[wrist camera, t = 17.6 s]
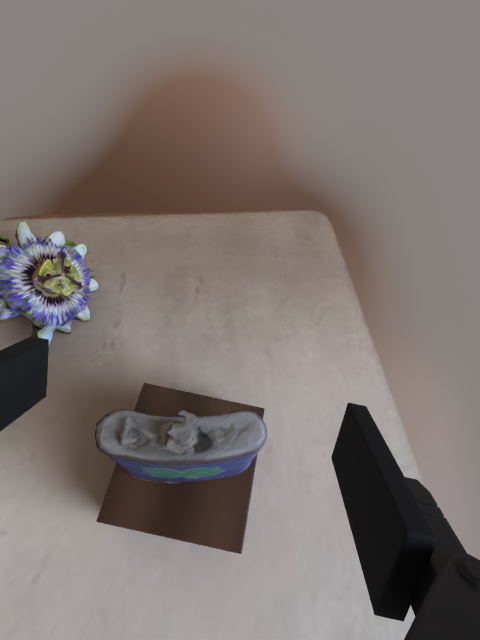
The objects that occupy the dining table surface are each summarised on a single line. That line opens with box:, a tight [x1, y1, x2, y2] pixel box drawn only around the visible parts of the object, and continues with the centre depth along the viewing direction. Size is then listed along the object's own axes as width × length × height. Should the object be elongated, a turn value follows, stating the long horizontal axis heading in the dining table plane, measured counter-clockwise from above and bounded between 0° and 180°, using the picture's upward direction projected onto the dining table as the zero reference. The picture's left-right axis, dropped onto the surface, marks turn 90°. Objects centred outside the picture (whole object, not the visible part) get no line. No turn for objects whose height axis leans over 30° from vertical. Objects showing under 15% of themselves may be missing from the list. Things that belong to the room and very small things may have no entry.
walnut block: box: [97, 383, 264, 554], centre depth 29 cm, size 10×10×6 cm
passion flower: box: [0, 222, 98, 345], centre depth 35 cm, size 11×11×12 cm
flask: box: [95, 410, 267, 484], centre depth 22 cm, size 9×3×11 cm, turn 91°
